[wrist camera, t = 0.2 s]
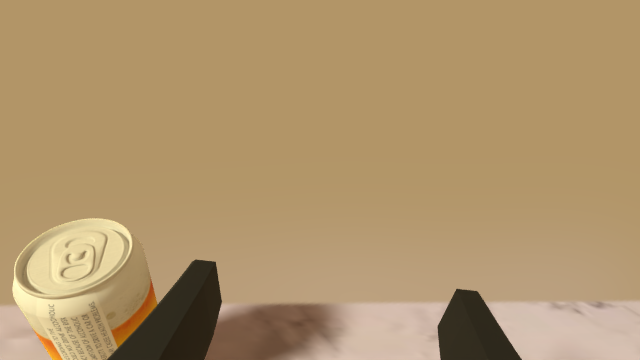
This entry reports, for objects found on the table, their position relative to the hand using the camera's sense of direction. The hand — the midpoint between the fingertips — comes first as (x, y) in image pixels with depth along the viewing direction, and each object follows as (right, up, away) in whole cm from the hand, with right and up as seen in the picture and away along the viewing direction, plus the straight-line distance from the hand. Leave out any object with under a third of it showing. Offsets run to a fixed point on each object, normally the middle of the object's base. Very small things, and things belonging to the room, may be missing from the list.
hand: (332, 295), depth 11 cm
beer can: (-15, -12, +17) cm, 26 cm away
